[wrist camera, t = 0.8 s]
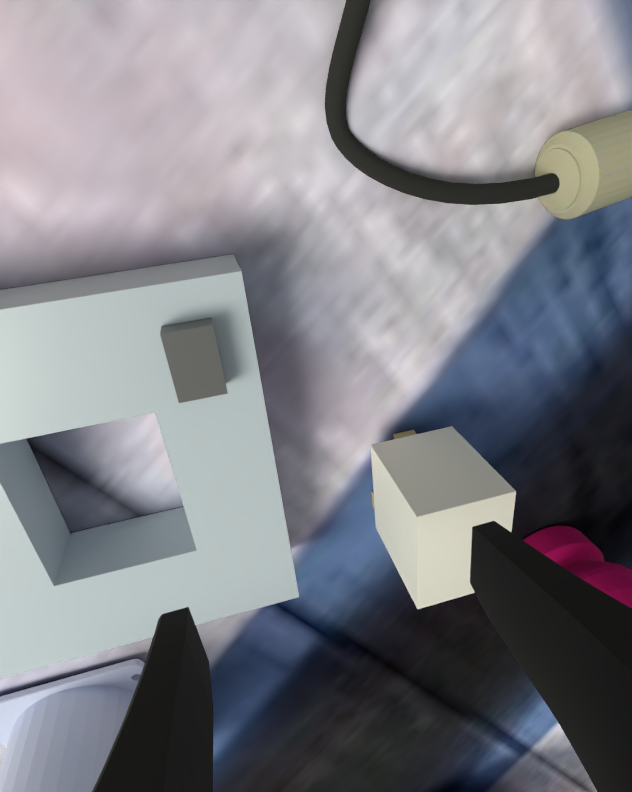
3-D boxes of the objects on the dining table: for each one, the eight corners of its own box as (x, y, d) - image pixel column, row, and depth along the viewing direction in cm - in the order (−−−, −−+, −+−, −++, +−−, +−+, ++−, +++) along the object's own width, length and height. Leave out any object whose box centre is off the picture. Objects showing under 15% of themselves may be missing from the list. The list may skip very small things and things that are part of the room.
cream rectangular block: (440, 496, 26) (505, 583, 20) (369, 514, 25) (417, 609, 20) (442, 416, 23) (516, 491, 18) (363, 433, 23) (416, 517, 17)
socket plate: (287, 550, 25) (302, 611, 21) (17, 620, 23) (-12, 699, 19) (233, 254, 18) (244, 276, 14) (-165, 315, 16) (-260, 358, 12)
